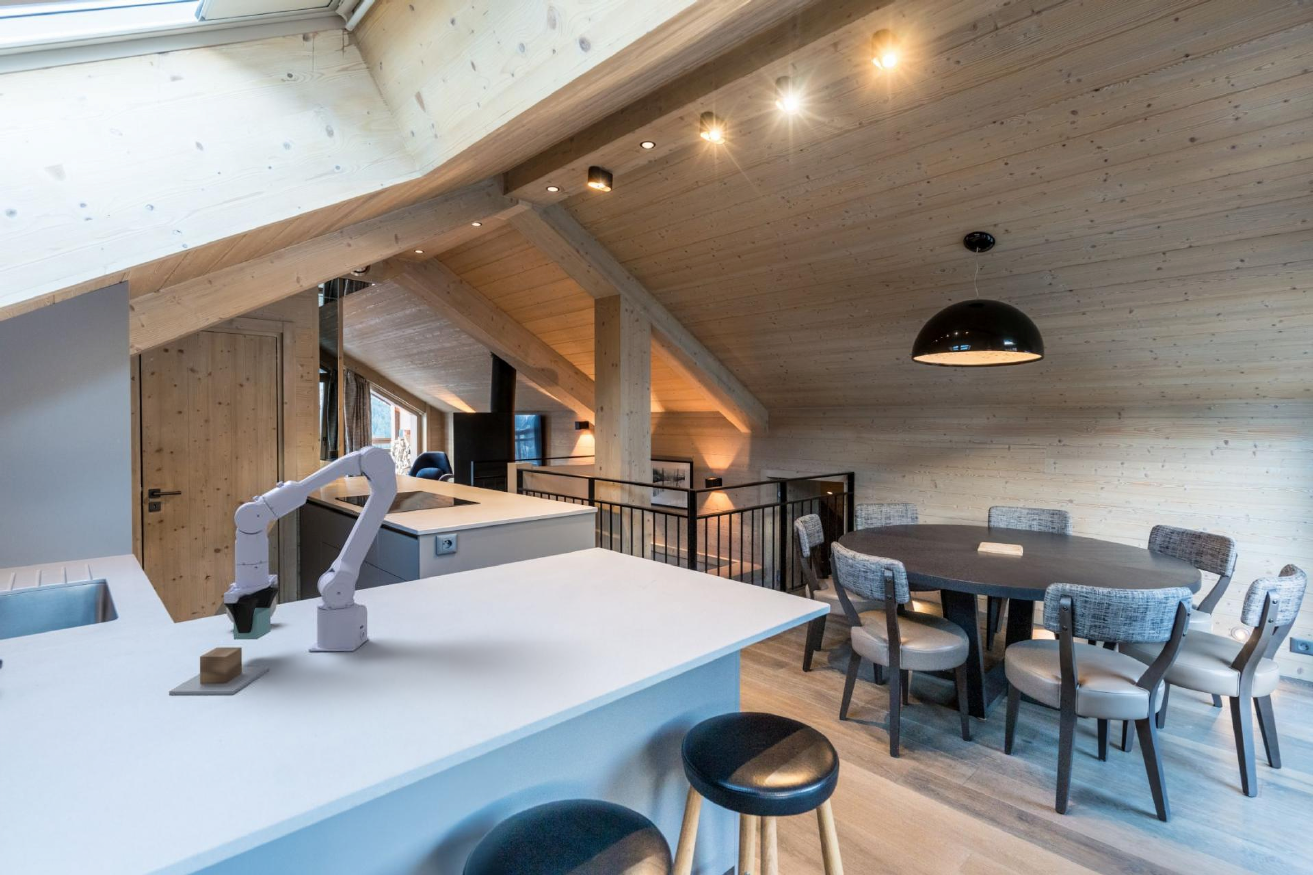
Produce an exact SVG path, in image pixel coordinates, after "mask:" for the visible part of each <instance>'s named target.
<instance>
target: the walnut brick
mask: <svg viewBox="0 0 1313 875" xmlns="http://www.w3.org/2000/svg"><path fill="white" fill-rule="evenodd" d="M242 649H243V648H242V647H241V646H240V647H229V646H228V647H224V646H223V647H219V646H218V647H215V648H213V649H211V650H209V651H208V652H205V653H203V654H202V655H200V656H199V674H200V684H226V683H228V682H229V681H231V680H232V679H234V678H236V677H237V676H239V675H240V674H242V667H243V665H242V664H243V663H242V662H243V654H242V653H243V650H242Z"/></svg>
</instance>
